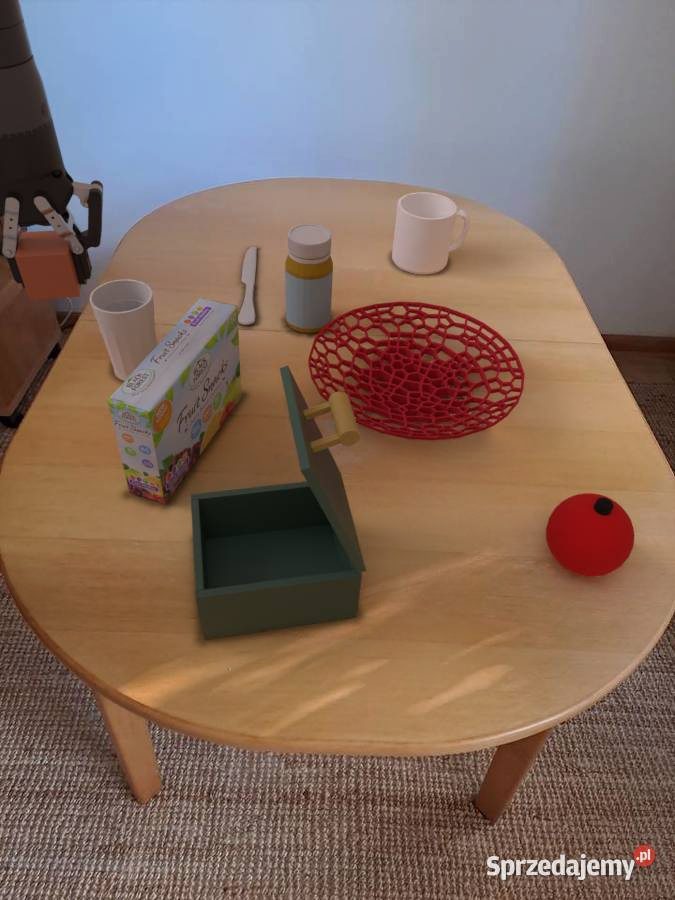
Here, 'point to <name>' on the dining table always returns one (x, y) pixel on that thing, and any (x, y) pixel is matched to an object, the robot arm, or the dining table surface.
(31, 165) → the robot arm
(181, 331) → the snack box
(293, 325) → the bottle
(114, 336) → the cup
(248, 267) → the butter knife
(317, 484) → the lid
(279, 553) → the chest
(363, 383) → the bowl
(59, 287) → the block
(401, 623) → the dining table surface
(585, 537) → the ornament
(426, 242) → the mug
